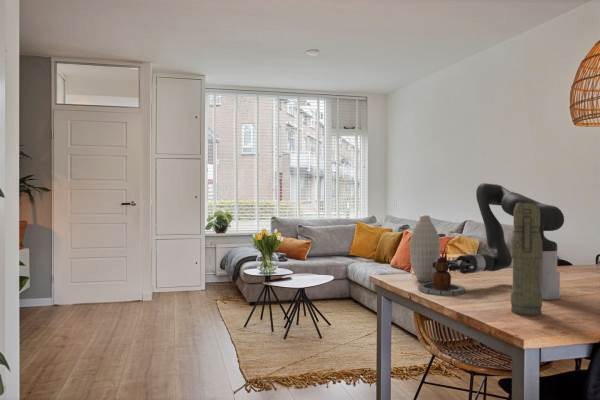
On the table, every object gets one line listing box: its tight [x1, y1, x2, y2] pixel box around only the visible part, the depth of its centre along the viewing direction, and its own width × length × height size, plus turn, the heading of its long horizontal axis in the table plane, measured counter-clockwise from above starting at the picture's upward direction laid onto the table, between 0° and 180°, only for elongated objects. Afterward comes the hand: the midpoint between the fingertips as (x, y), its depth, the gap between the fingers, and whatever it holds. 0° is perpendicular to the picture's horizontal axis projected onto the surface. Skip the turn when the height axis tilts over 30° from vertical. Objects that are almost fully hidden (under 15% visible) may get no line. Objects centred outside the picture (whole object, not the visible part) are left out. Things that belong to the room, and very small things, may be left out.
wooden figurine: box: [432, 251, 452, 290], centre depth 184 cm, size 7×6×15 cm
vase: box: [409, 214, 441, 282], centre depth 207 cm, size 13×13×28 cm
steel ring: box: [417, 282, 466, 296], centre depth 184 cm, size 17×17×2 cm
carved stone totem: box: [510, 202, 543, 317], centre depth 150 cm, size 9×12×35 cm
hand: (441, 266), depth 184 cm, fingers open, 8 cm apart
